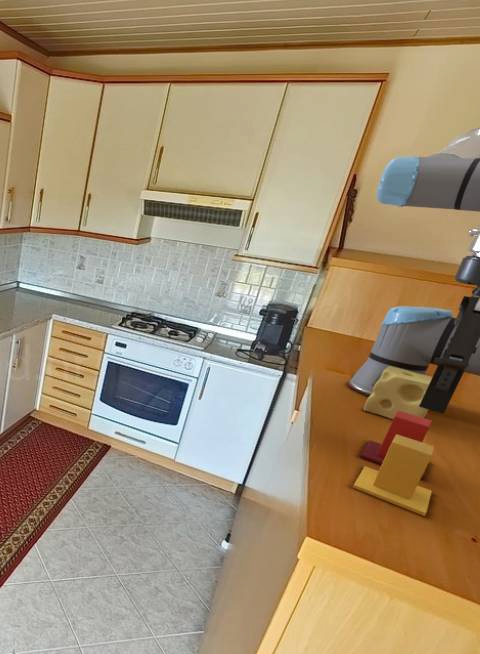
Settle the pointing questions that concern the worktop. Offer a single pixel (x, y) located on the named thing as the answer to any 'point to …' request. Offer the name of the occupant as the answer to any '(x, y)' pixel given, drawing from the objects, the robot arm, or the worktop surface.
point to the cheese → (398, 393)
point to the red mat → (375, 454)
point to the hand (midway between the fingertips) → (435, 399)
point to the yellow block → (403, 466)
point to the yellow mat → (414, 504)
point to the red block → (405, 429)
